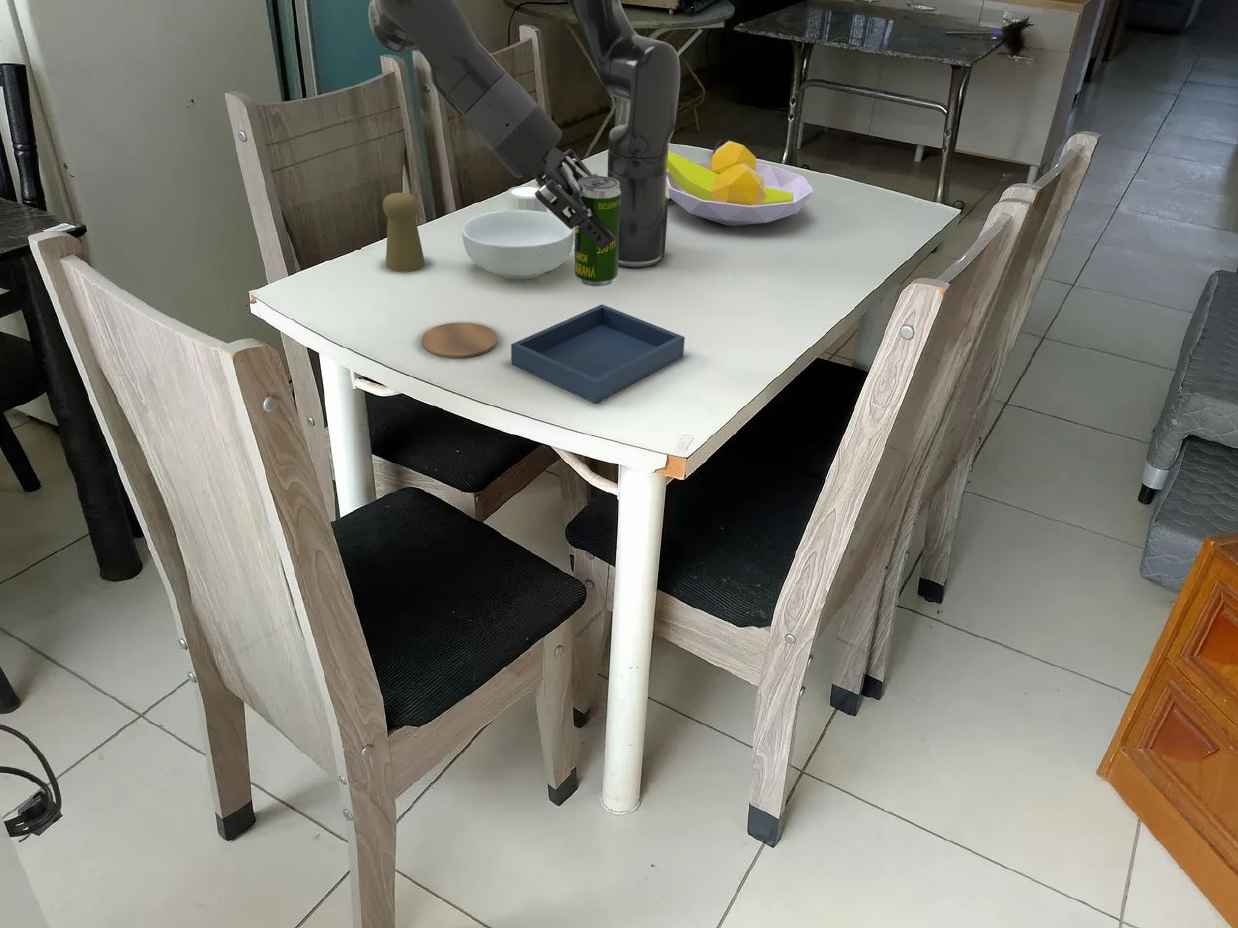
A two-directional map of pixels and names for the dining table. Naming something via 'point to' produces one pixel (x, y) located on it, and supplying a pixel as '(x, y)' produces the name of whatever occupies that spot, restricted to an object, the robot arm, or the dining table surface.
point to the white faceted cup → (524, 199)
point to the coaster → (459, 340)
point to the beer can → (606, 205)
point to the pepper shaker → (402, 233)
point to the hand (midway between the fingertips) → (611, 234)
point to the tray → (597, 352)
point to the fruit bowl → (735, 187)
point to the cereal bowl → (517, 242)
